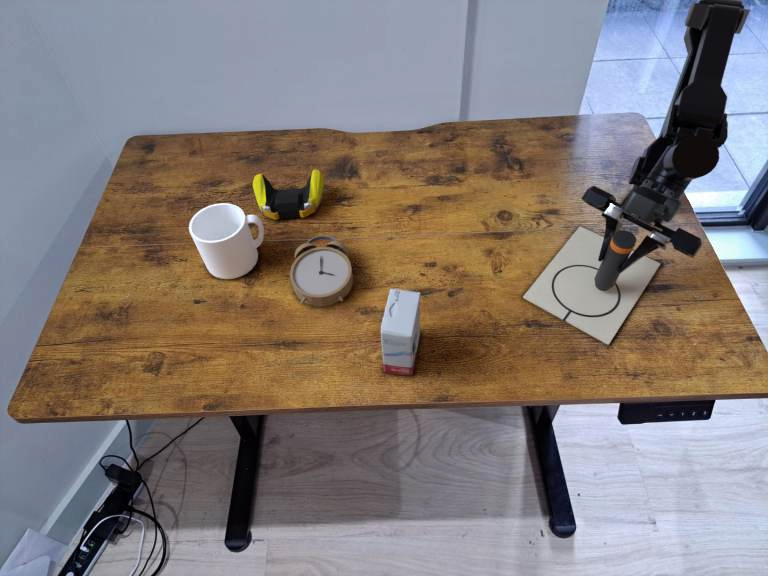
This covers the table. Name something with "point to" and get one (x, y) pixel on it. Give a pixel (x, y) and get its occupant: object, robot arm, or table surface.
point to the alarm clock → (321, 272)
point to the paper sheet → (589, 287)
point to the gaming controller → (289, 197)
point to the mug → (226, 239)
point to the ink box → (400, 331)
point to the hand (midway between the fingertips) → (609, 266)
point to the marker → (614, 259)
